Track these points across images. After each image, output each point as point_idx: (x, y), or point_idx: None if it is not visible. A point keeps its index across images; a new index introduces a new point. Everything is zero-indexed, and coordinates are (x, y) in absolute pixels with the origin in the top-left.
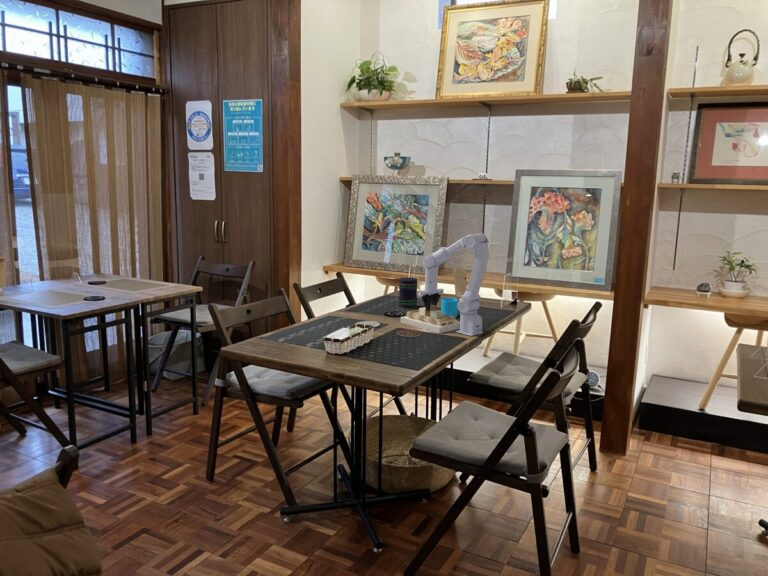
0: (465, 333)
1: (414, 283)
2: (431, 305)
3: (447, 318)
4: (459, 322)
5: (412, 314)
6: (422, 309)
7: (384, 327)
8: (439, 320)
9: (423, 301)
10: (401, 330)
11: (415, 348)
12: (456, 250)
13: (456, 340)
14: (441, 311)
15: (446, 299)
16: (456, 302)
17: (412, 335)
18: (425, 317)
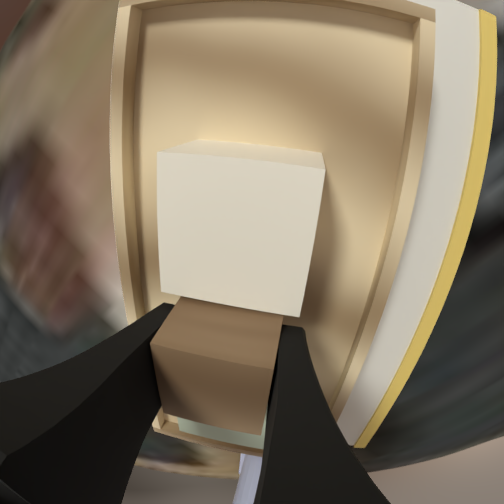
0: (241, 461)
1: None
2: (218, 402)
3: (233, 450)
4: (351, 434)
5: (121, 101)
6: (160, 234)
7: (2, 77)
8: (155, 427)
9: (52, 370)
10: (26, 197)
11: (11, 378)
12: None
13: (152, 449)
14: (253, 445)
15: None
16: None
17: (35, 305)
18: (132, 313)
